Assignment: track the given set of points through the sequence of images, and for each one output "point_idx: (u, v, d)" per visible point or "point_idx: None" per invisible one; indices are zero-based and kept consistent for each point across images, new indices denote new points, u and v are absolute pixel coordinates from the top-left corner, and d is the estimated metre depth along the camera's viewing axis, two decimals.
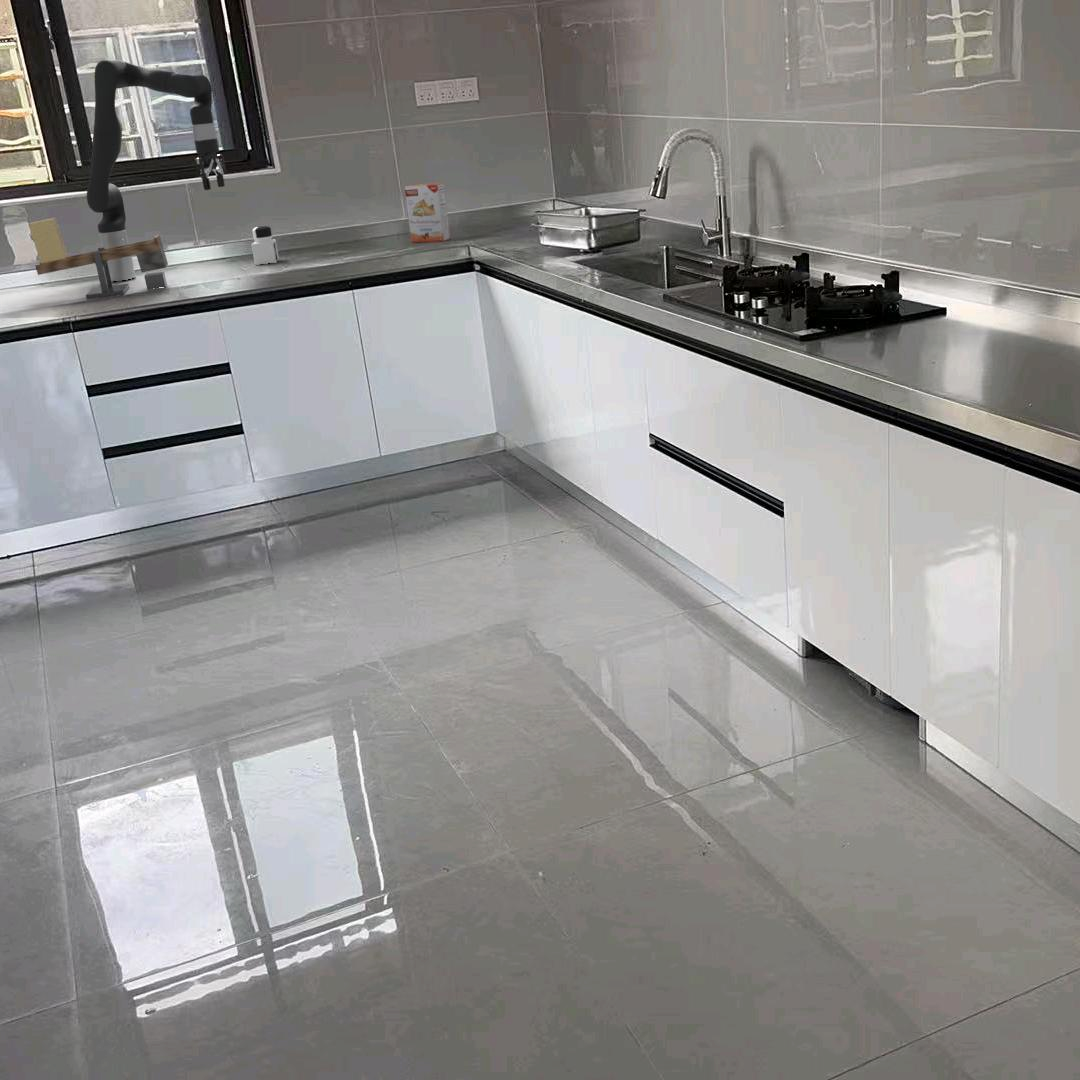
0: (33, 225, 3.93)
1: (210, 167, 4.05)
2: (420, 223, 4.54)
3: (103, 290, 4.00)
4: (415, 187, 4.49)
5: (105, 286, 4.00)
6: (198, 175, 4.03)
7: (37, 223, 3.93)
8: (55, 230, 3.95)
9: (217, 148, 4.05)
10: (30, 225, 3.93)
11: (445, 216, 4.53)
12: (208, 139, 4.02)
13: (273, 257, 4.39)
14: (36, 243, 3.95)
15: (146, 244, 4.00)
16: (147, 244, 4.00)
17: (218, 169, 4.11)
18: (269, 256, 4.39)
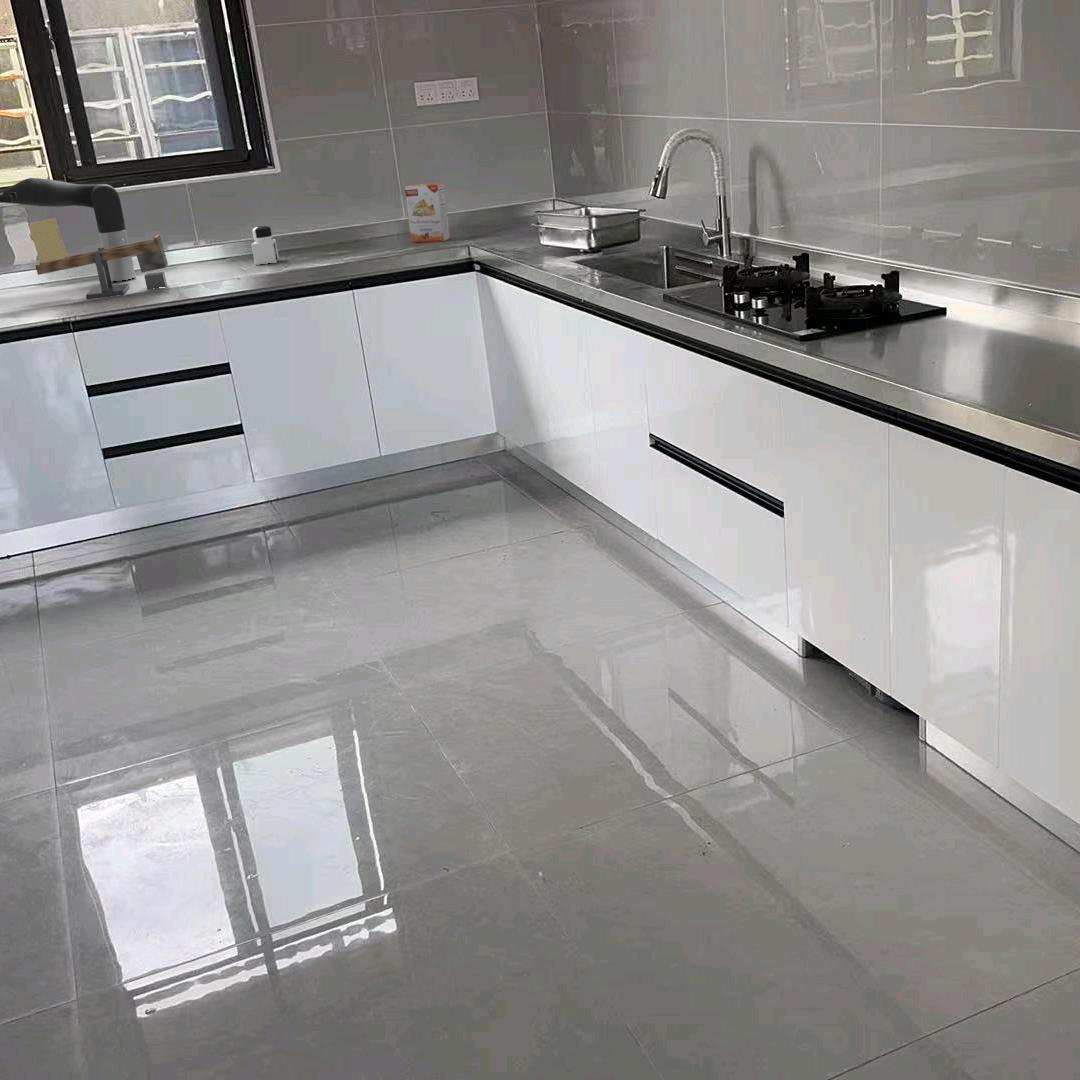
0: (33, 225, 3.93)
1: None
2: (420, 223, 4.54)
3: (103, 290, 4.00)
4: (415, 187, 4.49)
5: (105, 286, 4.00)
6: None
7: (37, 223, 3.93)
8: (55, 230, 3.95)
9: None
10: (30, 225, 3.93)
11: (445, 216, 4.53)
12: None
13: (273, 257, 4.39)
14: (36, 243, 3.95)
15: (146, 244, 4.00)
16: (147, 244, 4.00)
17: None
18: (269, 256, 4.39)
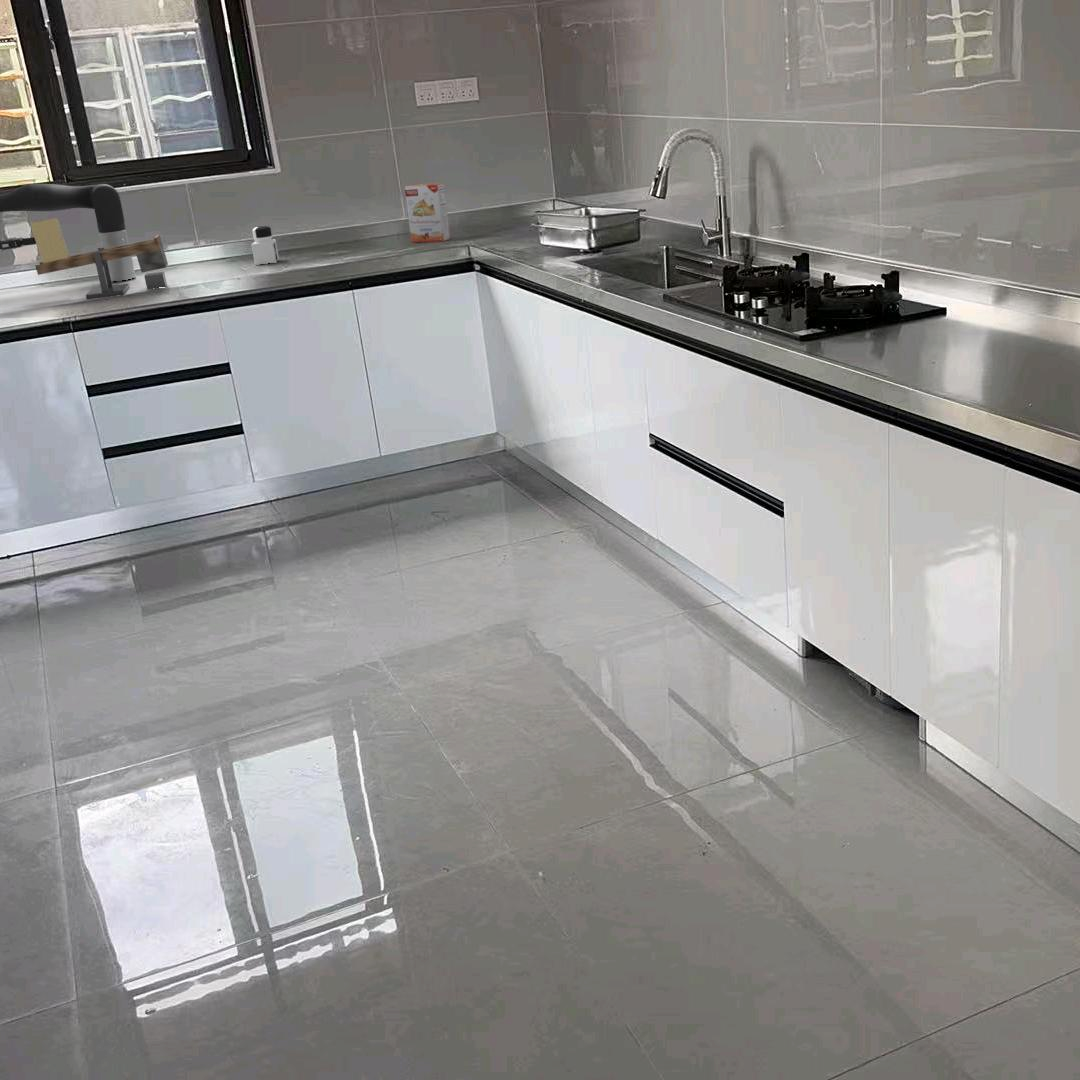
0: (35, 224, 3.93)
1: (9, 238, 3.93)
2: (420, 223, 4.54)
3: (103, 290, 4.00)
4: (415, 187, 4.49)
5: (105, 286, 4.00)
6: (18, 245, 3.92)
7: (39, 223, 3.93)
8: (57, 230, 3.95)
9: None
10: (32, 225, 3.93)
11: (445, 216, 4.53)
12: None
13: (273, 257, 4.39)
14: (38, 243, 3.95)
15: (146, 244, 4.00)
16: (147, 244, 4.00)
17: (14, 240, 3.94)
18: (269, 256, 4.39)
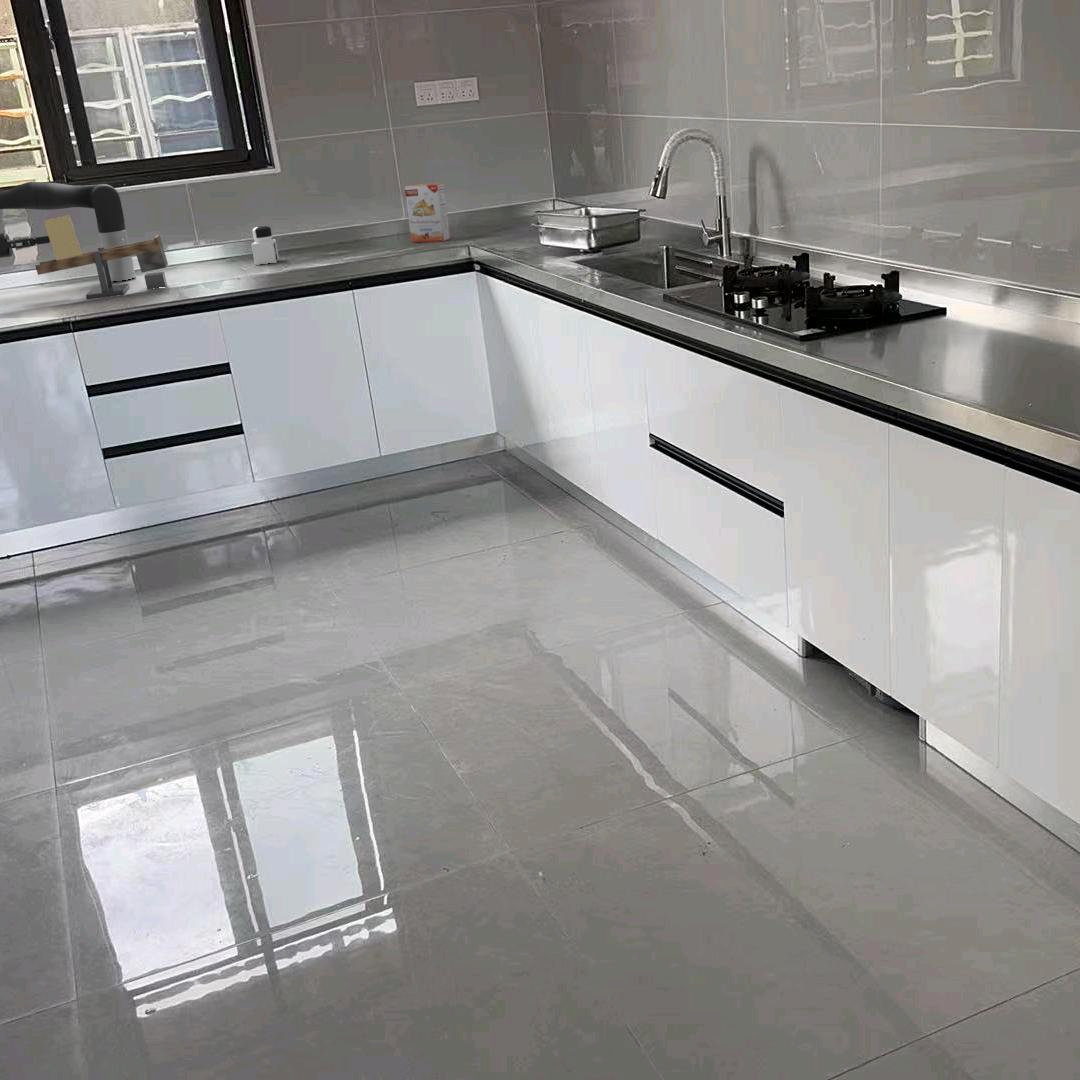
0: (49, 222, 3.93)
1: (23, 237, 3.92)
2: (420, 223, 4.54)
3: (103, 290, 4.00)
4: (415, 187, 4.49)
5: (105, 286, 4.00)
6: (31, 244, 3.92)
7: (53, 220, 3.93)
8: (71, 227, 3.95)
9: (2, 233, 3.92)
10: (45, 222, 3.93)
11: (445, 216, 4.53)
12: None
13: (273, 257, 4.39)
14: (51, 240, 3.95)
15: (146, 244, 4.00)
16: (147, 244, 4.00)
17: None
18: (269, 256, 4.39)
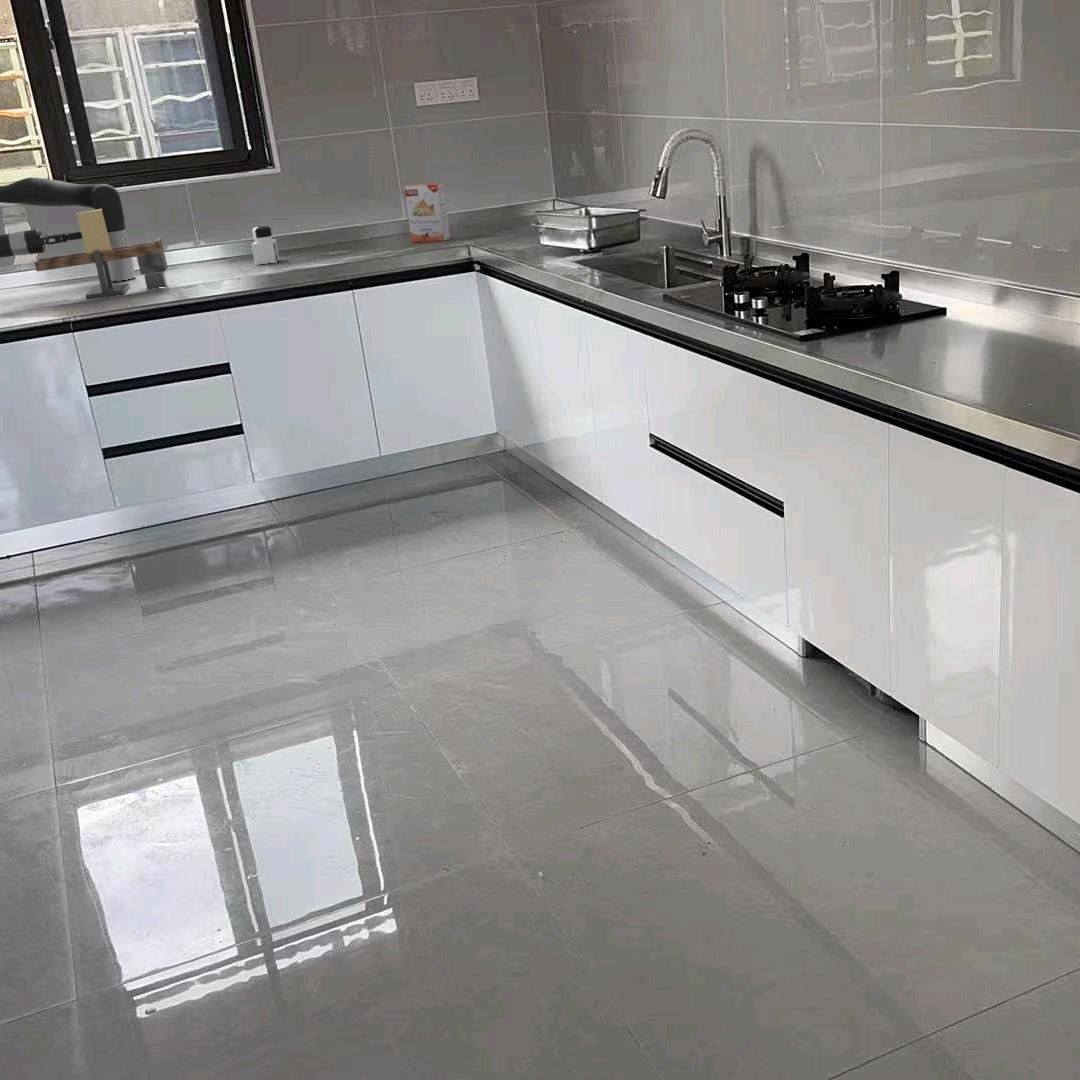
0: (82, 215, 3.94)
1: (55, 233, 3.94)
2: (420, 223, 4.54)
3: (103, 290, 4.00)
4: (415, 187, 4.49)
5: (105, 286, 4.00)
6: (64, 240, 3.93)
7: (85, 213, 3.95)
8: (103, 221, 3.97)
9: (35, 229, 3.93)
10: (78, 215, 3.94)
11: (445, 216, 4.53)
12: (24, 234, 3.91)
13: (273, 257, 4.39)
14: (83, 233, 3.96)
15: (147, 247, 4.00)
16: (148, 247, 4.00)
17: (60, 235, 3.95)
18: (269, 256, 4.39)
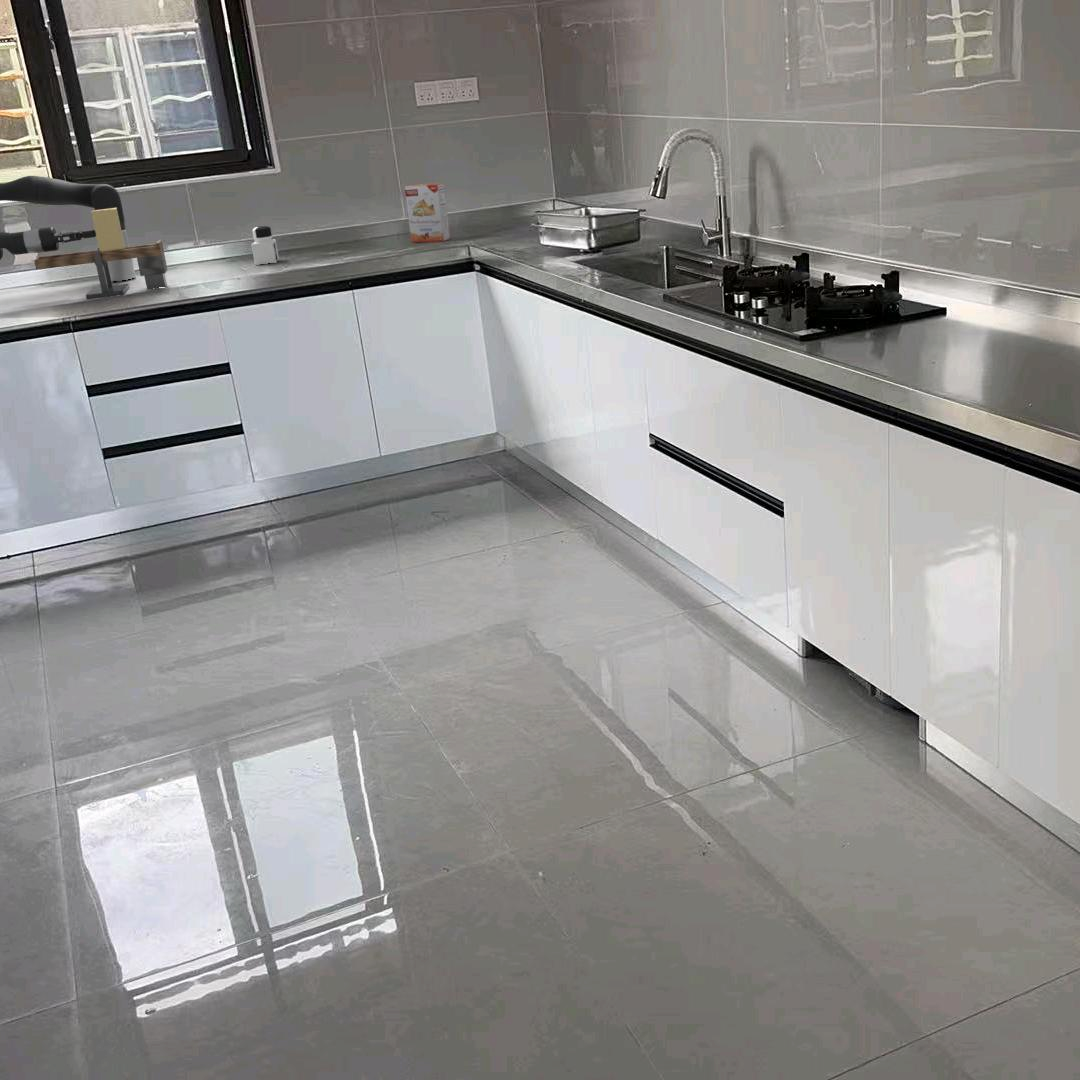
0: (96, 213, 3.95)
1: (69, 231, 3.95)
2: (420, 223, 4.54)
3: (103, 290, 4.00)
4: (415, 187, 4.49)
5: (105, 286, 4.00)
6: (78, 238, 3.94)
7: (100, 211, 3.95)
8: (117, 220, 3.98)
9: (49, 227, 3.95)
10: (93, 213, 3.95)
11: (445, 216, 4.53)
12: (38, 232, 3.92)
13: (273, 257, 4.39)
14: (97, 231, 3.97)
15: (148, 248, 4.01)
16: (149, 248, 4.01)
17: (74, 233, 3.97)
18: (269, 256, 4.39)
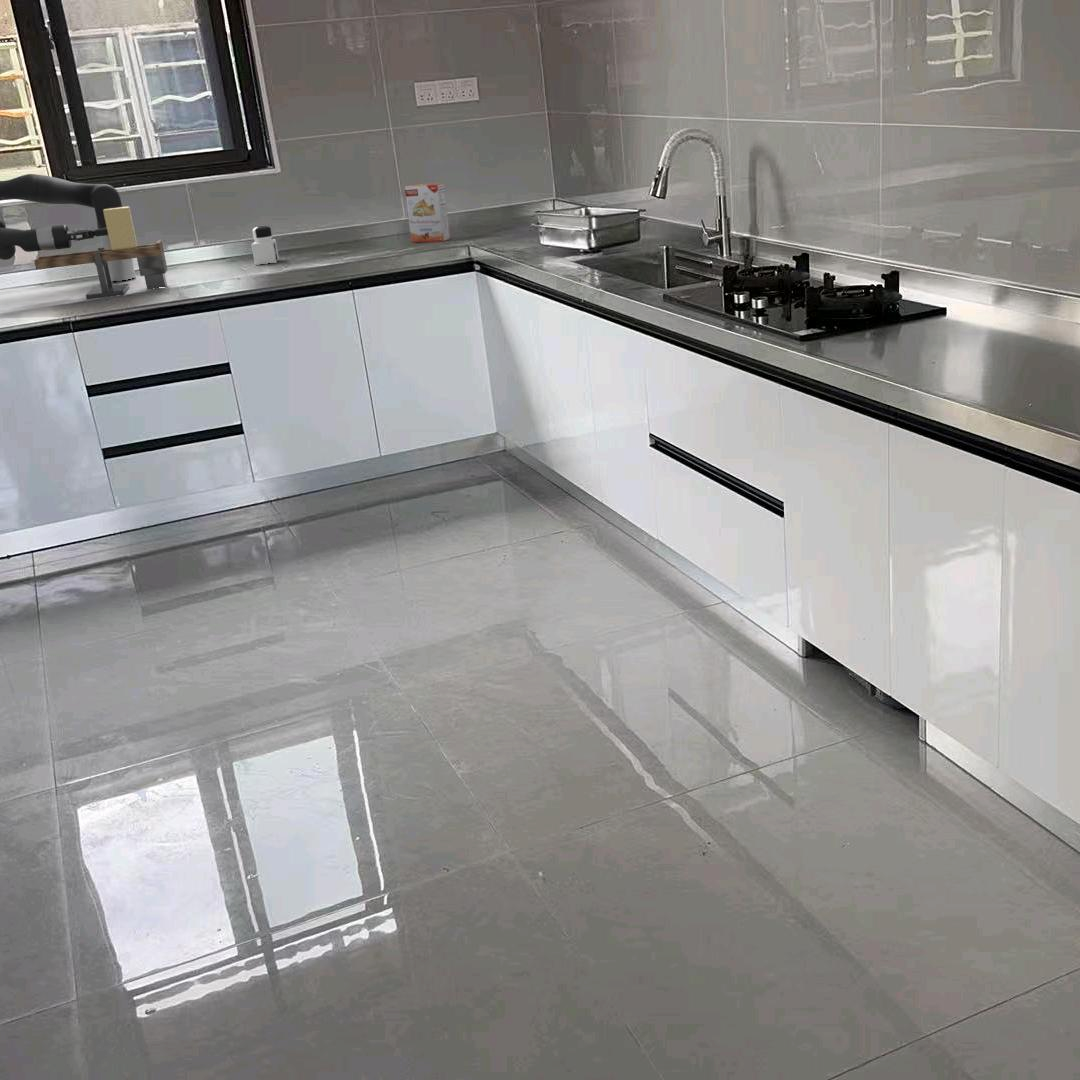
0: (108, 211, 3.96)
1: (82, 229, 3.97)
2: (420, 223, 4.54)
3: (103, 290, 4.00)
4: (415, 187, 4.49)
5: (105, 286, 4.00)
6: (91, 236, 3.96)
7: (112, 210, 3.96)
8: (129, 218, 3.98)
9: (62, 225, 3.97)
10: (105, 211, 3.96)
11: (445, 216, 4.53)
12: (51, 230, 3.94)
13: (273, 257, 4.39)
14: (109, 230, 3.98)
15: (148, 248, 4.01)
16: (149, 248, 4.01)
17: (86, 230, 3.99)
18: (269, 256, 4.39)
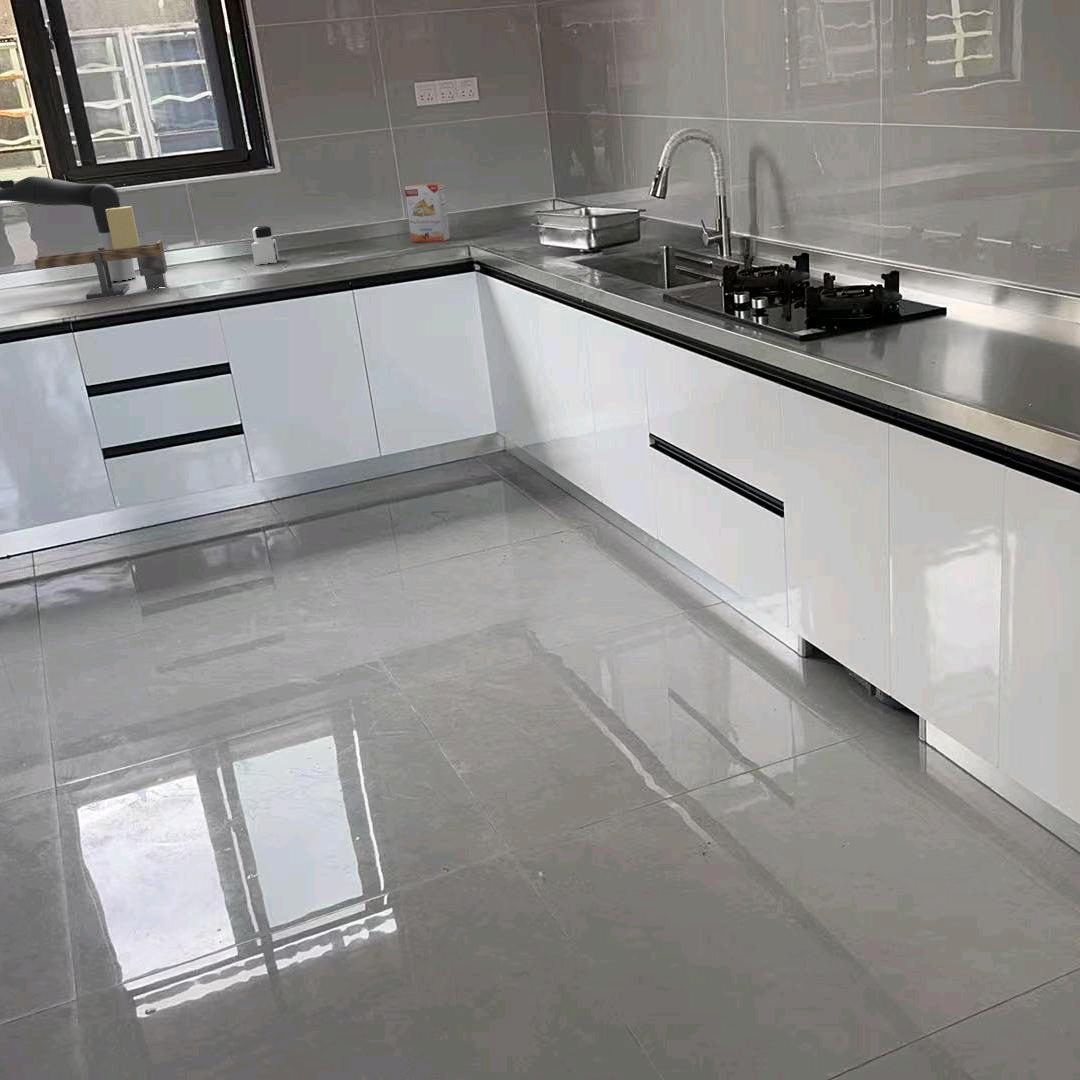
0: (110, 211, 3.96)
1: None
2: (420, 223, 4.54)
3: (103, 290, 4.00)
4: (415, 187, 4.49)
5: (105, 286, 4.00)
6: None
7: (114, 210, 3.97)
8: (131, 218, 3.98)
9: None
10: (107, 211, 3.96)
11: (445, 216, 4.53)
12: None
13: (273, 257, 4.39)
14: (111, 229, 3.98)
15: (148, 248, 4.01)
16: (149, 248, 4.01)
17: None
18: (269, 256, 4.39)
